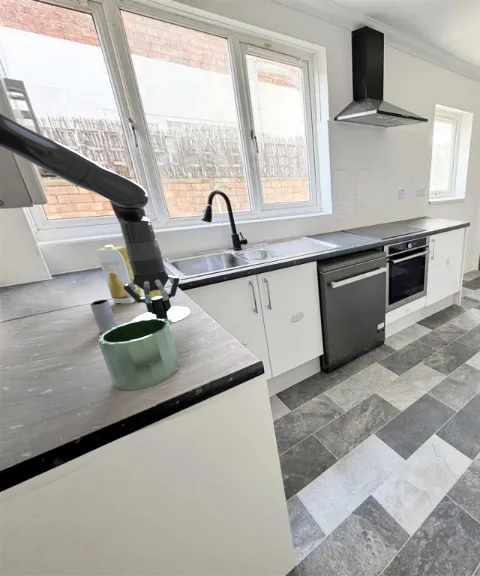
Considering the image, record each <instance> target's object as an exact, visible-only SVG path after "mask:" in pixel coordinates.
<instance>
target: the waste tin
mask: <svg viewBox="0 0 480 576" xmlns="http://www.w3.org/2000/svg"><path fill="white" fill-rule="evenodd" d="M132 321H133V320H132ZM132 321H130V322H126V323H123V324H120V325H117V327H114V328H112V329H110V330H108V331H106V332H105V333H101V335H99V337H98V339H97V342H98V344H99V348H100V350H101V353H102V355H103V358H104V361H105V364H106V366H107V370H108V372H109V375H110V378H111V380H112V383H113V385H114V387H115V388H116V389H118V390H121V391H136V390H142V389H146V388H149V387H153V386H155V385H157V384H161V383H162V382H164V381H165V380H168V379H169V378H171V377H173V376H174V375H175V374H176V373H177V372H178V370H179V369H180V366H181V364H180V360H179V356H178V352H177V347H176V345H175V341H174V338H173V334H172V330H171V325H169V323H168V321H167V320H164V319H156V318H153V319H143V320H138V321H133V322H132Z"/></svg>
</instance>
